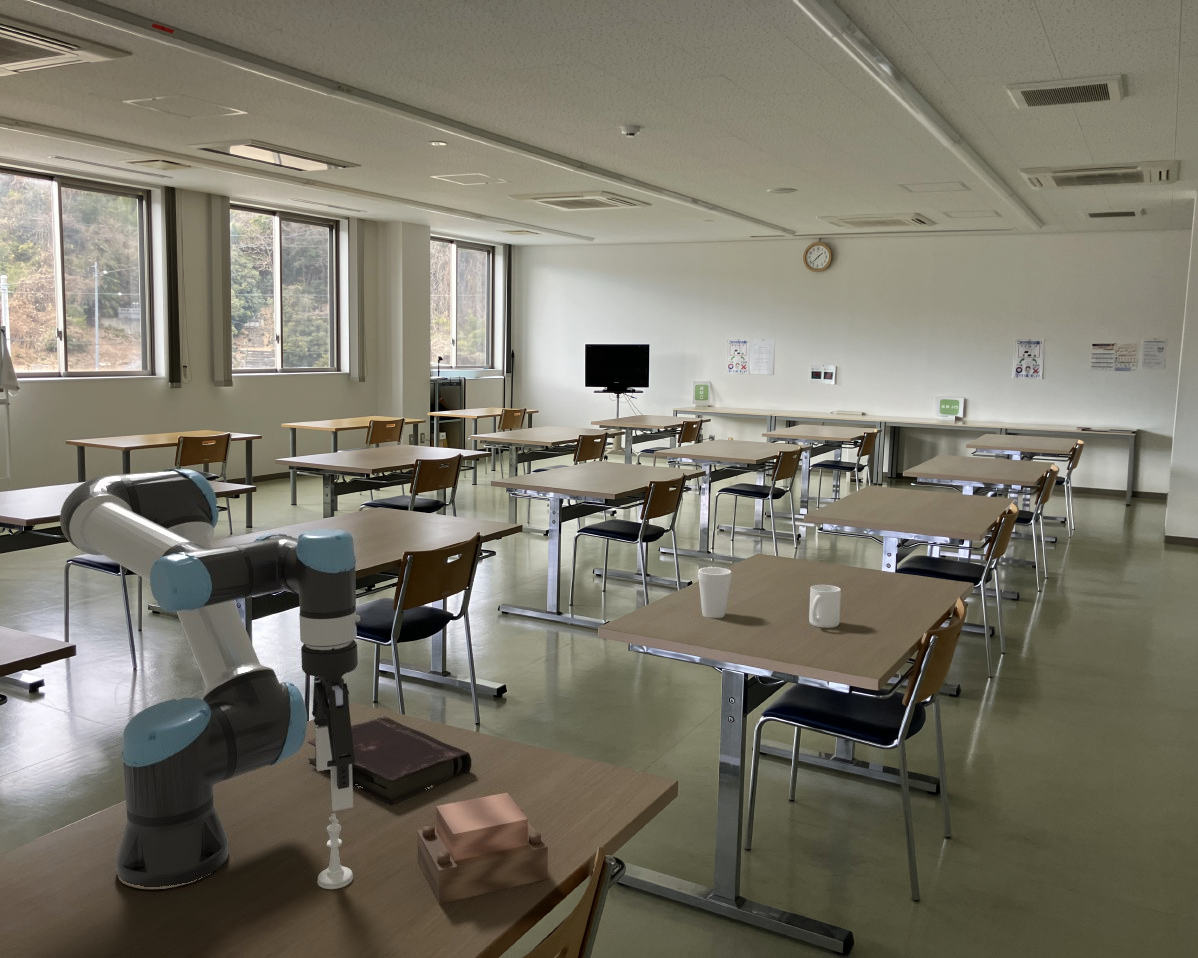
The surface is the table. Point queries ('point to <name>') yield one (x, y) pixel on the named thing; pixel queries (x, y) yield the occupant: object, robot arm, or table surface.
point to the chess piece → (334, 861)
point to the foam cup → (714, 590)
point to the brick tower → (480, 849)
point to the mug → (824, 606)
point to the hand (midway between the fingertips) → (334, 787)
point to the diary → (400, 760)
